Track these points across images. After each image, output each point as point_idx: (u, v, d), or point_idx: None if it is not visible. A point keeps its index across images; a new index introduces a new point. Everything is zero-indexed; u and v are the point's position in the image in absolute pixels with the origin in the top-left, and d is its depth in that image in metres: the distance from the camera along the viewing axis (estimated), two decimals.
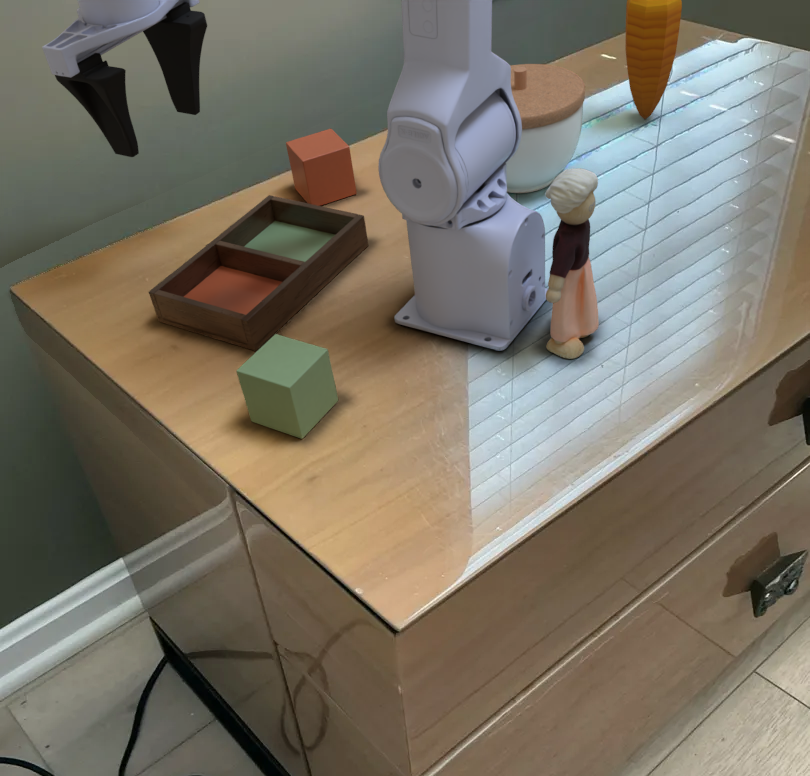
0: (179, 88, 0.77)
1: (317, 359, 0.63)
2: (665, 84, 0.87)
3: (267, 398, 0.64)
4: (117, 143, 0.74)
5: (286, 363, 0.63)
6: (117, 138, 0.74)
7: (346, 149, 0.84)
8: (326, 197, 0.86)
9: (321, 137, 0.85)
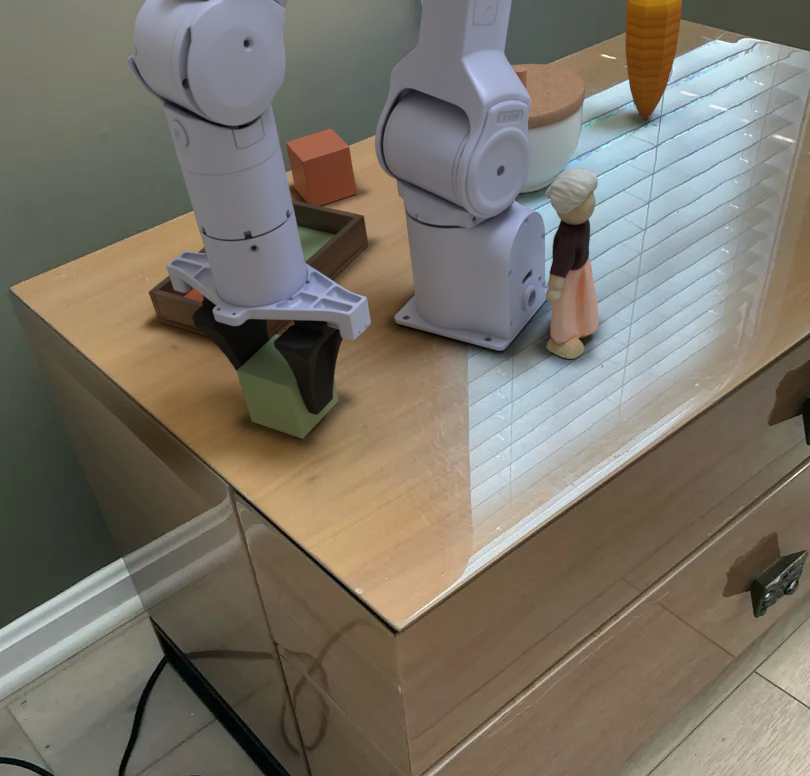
0: None
1: None
2: (665, 84, 0.87)
3: (267, 399, 0.64)
4: (322, 396, 0.64)
5: (286, 363, 0.63)
6: (324, 389, 0.64)
7: (346, 149, 0.84)
8: (326, 197, 0.86)
9: (321, 137, 0.85)
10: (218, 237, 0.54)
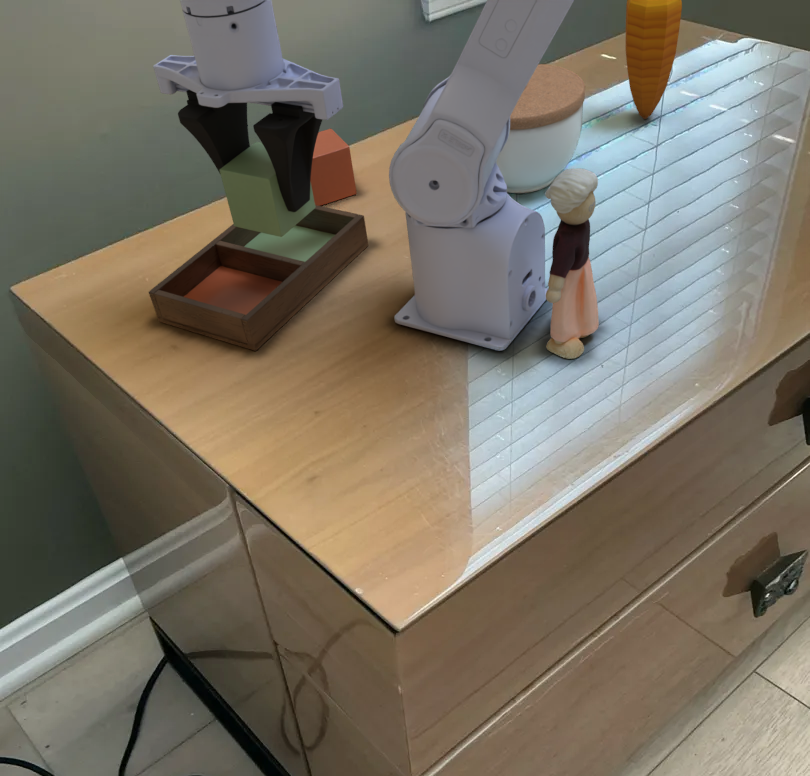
0: None
1: None
2: (665, 84, 0.87)
3: (248, 196, 0.68)
4: (300, 194, 0.69)
5: (265, 162, 0.68)
6: (301, 186, 0.68)
7: (346, 149, 0.84)
8: (326, 197, 0.86)
9: (321, 137, 0.85)
10: (201, 14, 0.59)
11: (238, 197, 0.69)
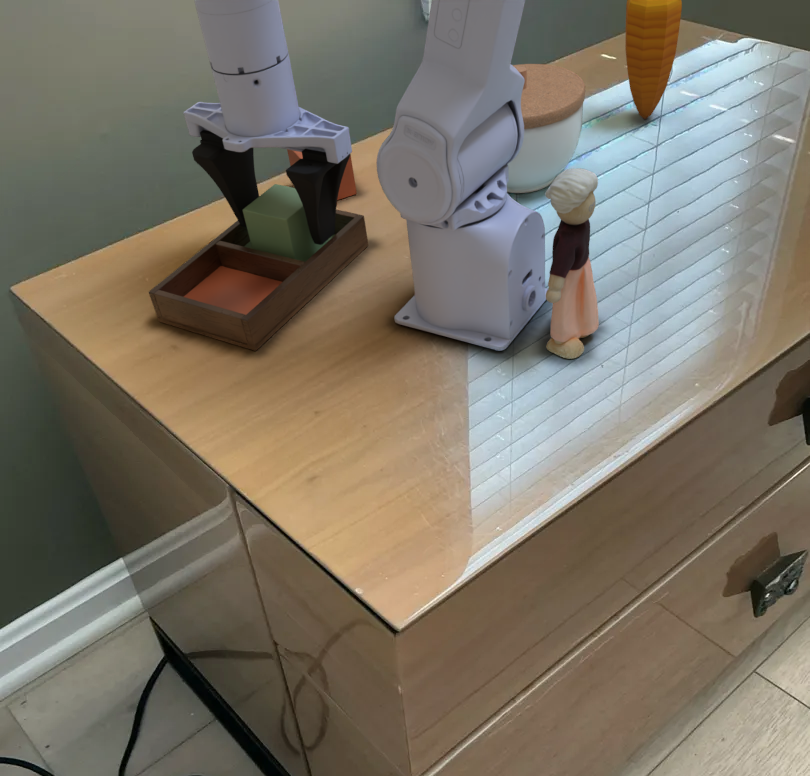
0: (247, 199, 0.79)
1: None
2: (665, 84, 0.87)
3: (268, 233, 0.77)
4: (326, 228, 0.76)
5: (283, 203, 0.76)
6: (327, 222, 0.76)
7: None
8: None
9: None
10: (227, 72, 0.67)
11: (259, 234, 0.77)
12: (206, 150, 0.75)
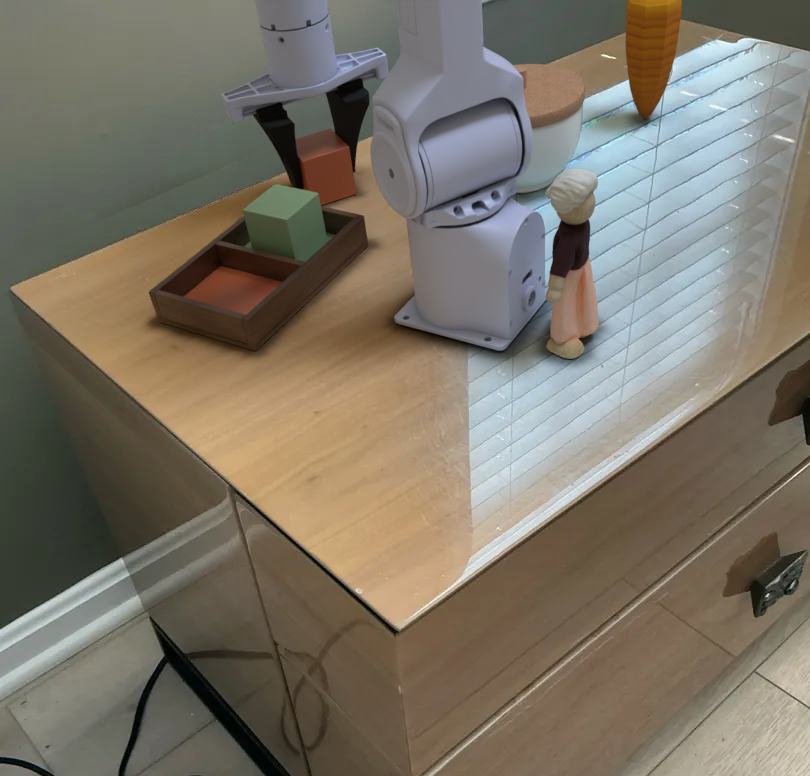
0: None
1: (309, 200, 0.76)
2: (665, 84, 0.87)
3: (268, 233, 0.77)
4: (290, 175, 0.86)
5: (283, 203, 0.76)
6: (289, 172, 0.85)
7: (345, 149, 0.84)
8: (326, 197, 0.86)
9: (320, 138, 0.85)
10: None
11: (259, 234, 0.77)
12: None
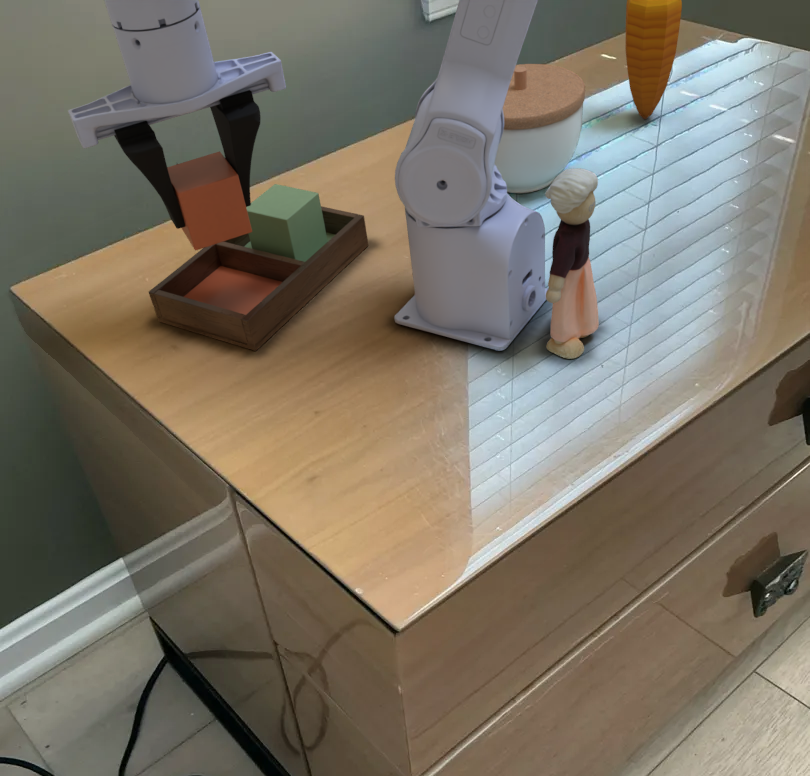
0: None
1: (309, 200, 0.76)
2: (665, 84, 0.87)
3: (268, 233, 0.77)
4: (168, 210, 0.69)
5: (283, 203, 0.76)
6: (166, 206, 0.69)
7: (234, 178, 0.67)
8: (213, 237, 0.69)
9: (205, 163, 0.69)
10: None
11: (259, 234, 0.77)
12: None
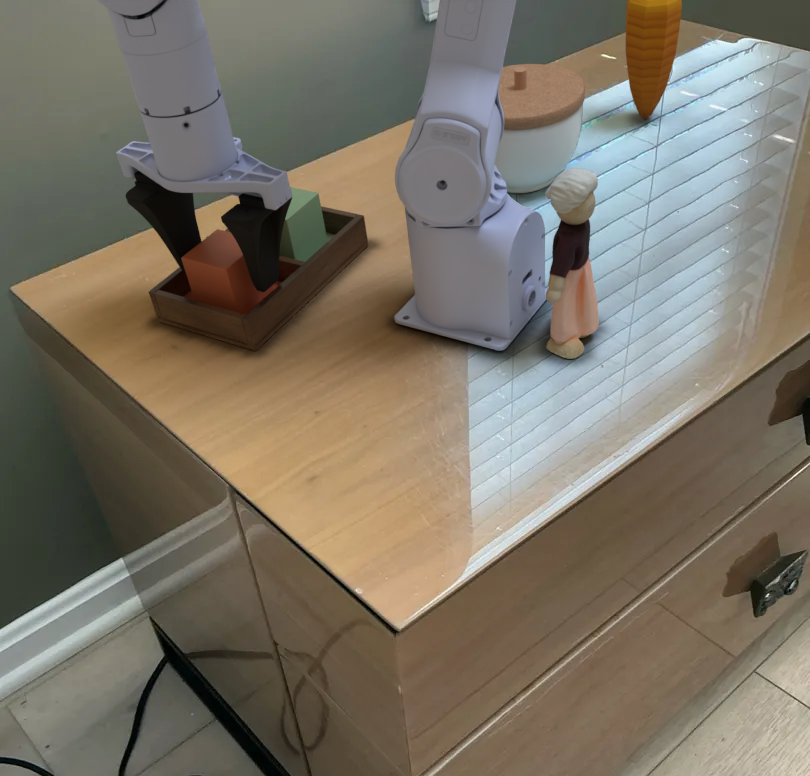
0: None
1: (309, 200, 0.76)
2: (665, 84, 0.87)
3: None
4: None
5: None
6: None
7: (222, 271, 0.71)
8: None
9: (236, 244, 0.73)
10: None
11: None
12: None
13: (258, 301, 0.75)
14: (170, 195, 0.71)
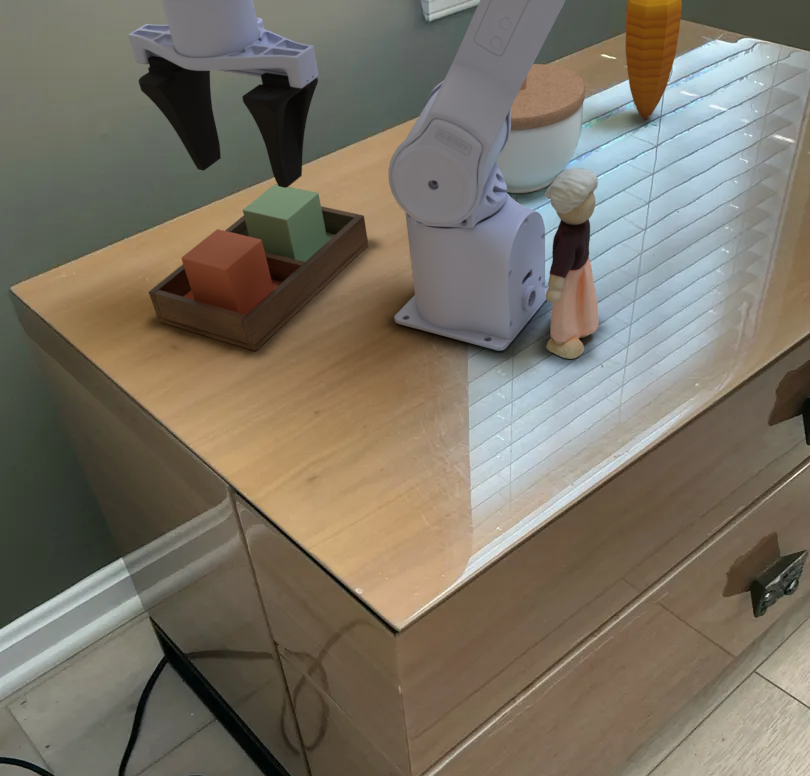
0: None
1: (309, 200, 0.76)
2: (665, 84, 0.87)
3: (268, 233, 0.77)
4: None
5: (283, 203, 0.76)
6: None
7: (222, 271, 0.71)
8: None
9: (236, 244, 0.73)
10: None
11: (259, 234, 0.77)
12: None
13: (258, 301, 0.75)
14: (186, 82, 0.67)
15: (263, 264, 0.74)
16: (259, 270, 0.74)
